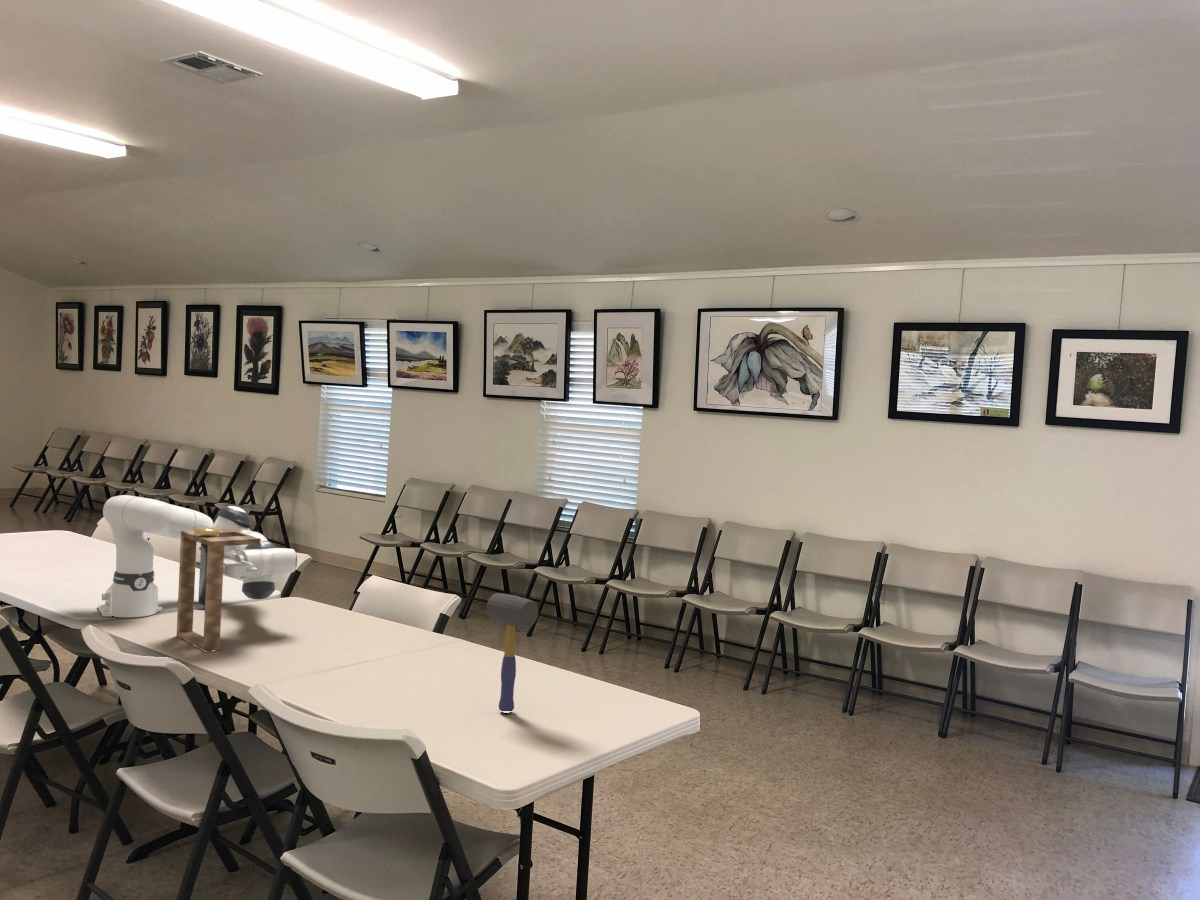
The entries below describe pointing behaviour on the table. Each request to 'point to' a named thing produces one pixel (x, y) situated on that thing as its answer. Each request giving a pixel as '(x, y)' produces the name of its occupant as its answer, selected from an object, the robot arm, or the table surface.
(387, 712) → the table surface
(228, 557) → the robot arm
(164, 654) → the table surface
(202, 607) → the hanger bolt
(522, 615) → the rubber mallet
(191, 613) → the keyhole rack
